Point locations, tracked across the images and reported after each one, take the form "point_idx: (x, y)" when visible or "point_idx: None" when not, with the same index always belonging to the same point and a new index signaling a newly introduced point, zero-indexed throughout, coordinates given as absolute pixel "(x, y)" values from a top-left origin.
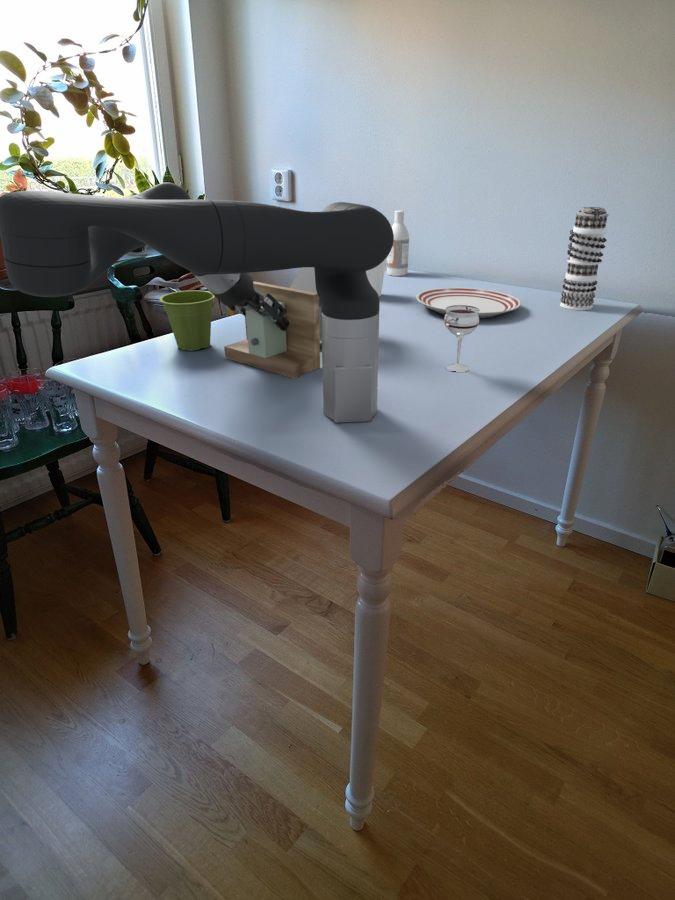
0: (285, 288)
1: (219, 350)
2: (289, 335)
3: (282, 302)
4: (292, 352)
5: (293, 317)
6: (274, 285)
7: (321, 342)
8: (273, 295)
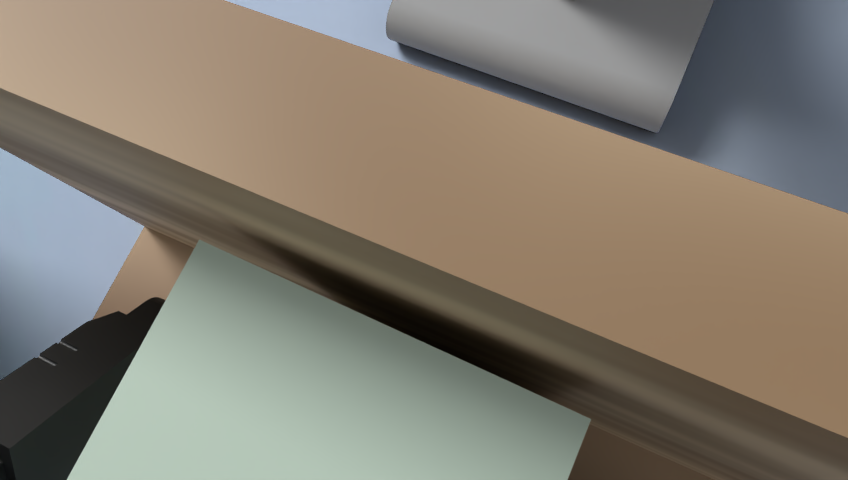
0: (606, 233)
1: (11, 300)
2: (581, 412)
3: (551, 419)
4: (602, 453)
5: (705, 448)
6: (226, 20)
7: (677, 84)
8: (304, 246)
